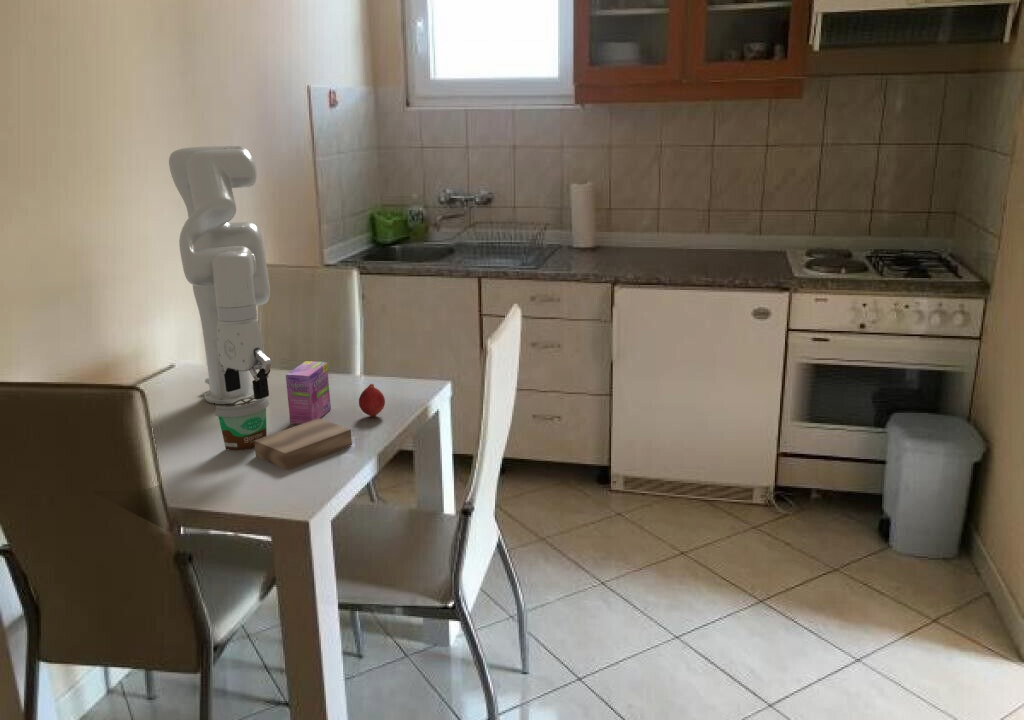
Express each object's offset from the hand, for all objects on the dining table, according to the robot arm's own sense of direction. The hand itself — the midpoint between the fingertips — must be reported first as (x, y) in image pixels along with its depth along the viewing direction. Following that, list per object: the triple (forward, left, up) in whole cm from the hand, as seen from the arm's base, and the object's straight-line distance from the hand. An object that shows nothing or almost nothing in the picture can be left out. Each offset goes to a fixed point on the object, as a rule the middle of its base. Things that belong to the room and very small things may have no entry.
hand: (247, 393), depth 176 cm
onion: (+8, +26, -12) cm, 30 cm away
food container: (-1, 0, -12) cm, 12 cm away
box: (-4, +18, -12) cm, 22 cm away
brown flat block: (+11, +4, -12) cm, 17 cm away
